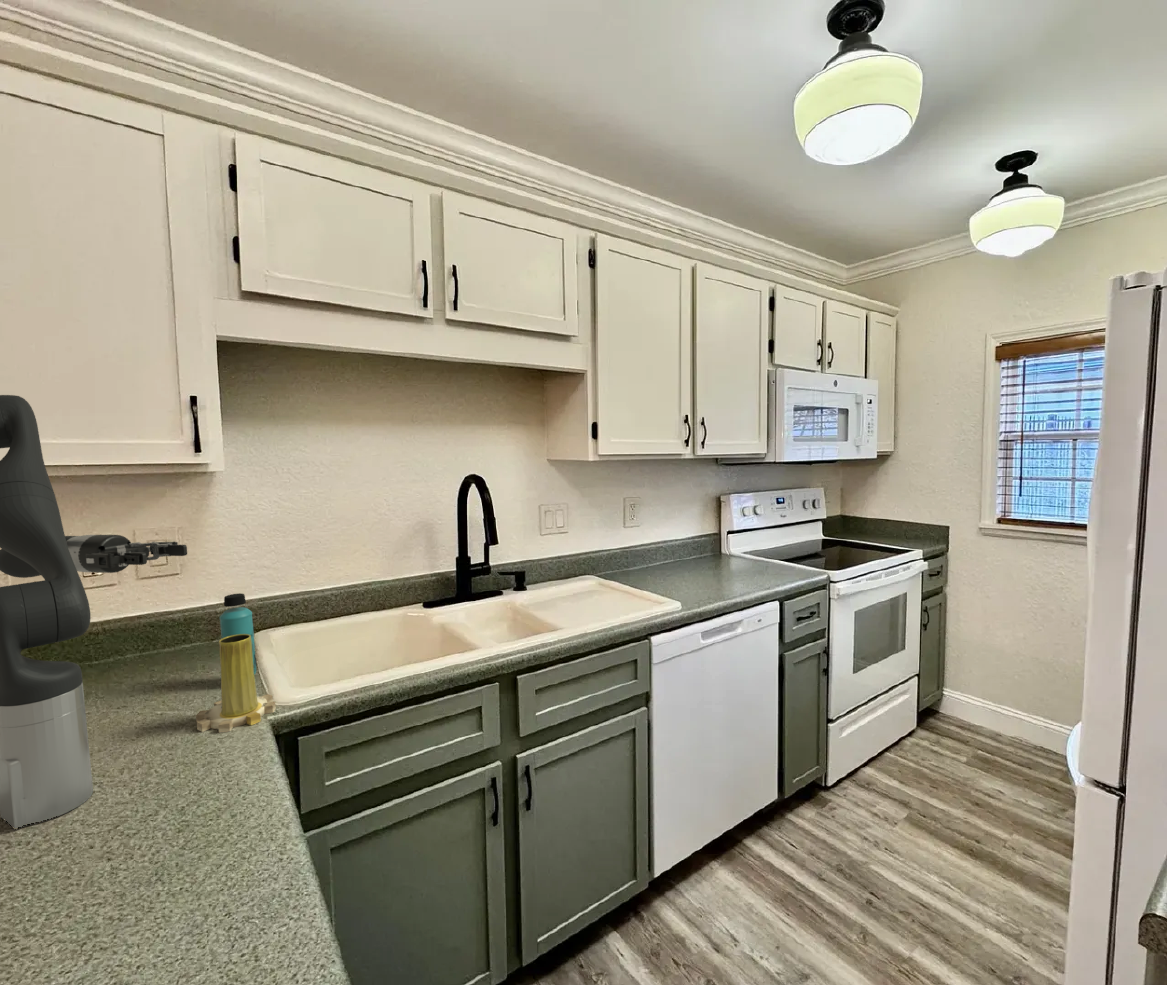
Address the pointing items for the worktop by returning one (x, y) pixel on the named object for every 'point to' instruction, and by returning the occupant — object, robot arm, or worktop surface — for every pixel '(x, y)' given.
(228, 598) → the beverage bottle
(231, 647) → the vase
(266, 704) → the sprocket board
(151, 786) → the worktop surface
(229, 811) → the worktop surface
